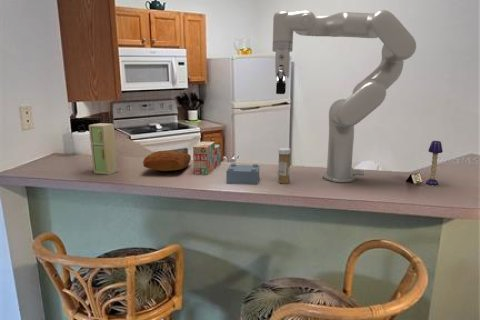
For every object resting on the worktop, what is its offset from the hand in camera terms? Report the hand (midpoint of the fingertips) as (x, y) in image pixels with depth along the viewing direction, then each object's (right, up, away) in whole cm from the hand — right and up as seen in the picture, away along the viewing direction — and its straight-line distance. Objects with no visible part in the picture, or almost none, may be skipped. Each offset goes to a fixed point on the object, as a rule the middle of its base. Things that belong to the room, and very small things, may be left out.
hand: (280, 93), depth 135 cm
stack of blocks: (-30, -30, +23) cm, 48 cm away
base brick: (-14, -34, +4) cm, 37 cm away
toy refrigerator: (-74, -31, +17) cm, 82 cm away
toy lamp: (+57, -35, -2) cm, 67 cm away
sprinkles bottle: (+1, -35, +1) cm, 35 cm away
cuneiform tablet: (-48, -31, +20) cm, 60 cm away
